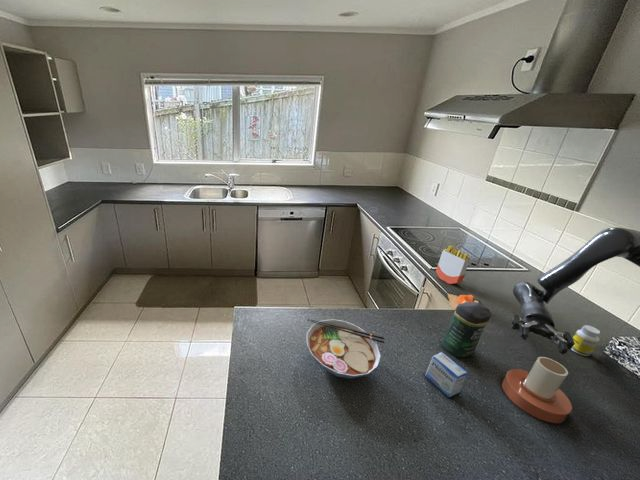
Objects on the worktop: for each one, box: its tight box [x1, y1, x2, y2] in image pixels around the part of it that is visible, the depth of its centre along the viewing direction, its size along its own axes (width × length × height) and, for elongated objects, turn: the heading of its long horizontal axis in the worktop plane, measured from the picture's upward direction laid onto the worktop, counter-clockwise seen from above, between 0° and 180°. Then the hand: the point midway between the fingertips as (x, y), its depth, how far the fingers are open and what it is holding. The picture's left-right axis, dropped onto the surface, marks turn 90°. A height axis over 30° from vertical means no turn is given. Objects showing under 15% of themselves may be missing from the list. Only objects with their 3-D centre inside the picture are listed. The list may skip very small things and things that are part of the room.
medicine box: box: [425, 352, 469, 398], centre depth 83 cm, size 8×4×9 cm, turn 23°
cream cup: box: [524, 356, 569, 399], centre depth 79 cm, size 6×6×9 cm
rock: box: [447, 292, 480, 310], centre depth 121 cm, size 12×12×4 cm
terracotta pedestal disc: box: [501, 368, 573, 424], centre depth 81 cm, size 14×14×4 cm
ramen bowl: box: [306, 318, 385, 379], centre depth 90 cm, size 25×23×8 cm
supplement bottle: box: [571, 324, 601, 357], centre depth 98 cm, size 5×5×10 cm
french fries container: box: [435, 245, 471, 285], centre depth 136 cm, size 5×11×18 cm, turn 21°
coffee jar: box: [441, 301, 492, 358], centre depth 95 cm, size 10×8×19 cm
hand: (544, 344), depth 86 cm, fingers open, 8 cm apart
